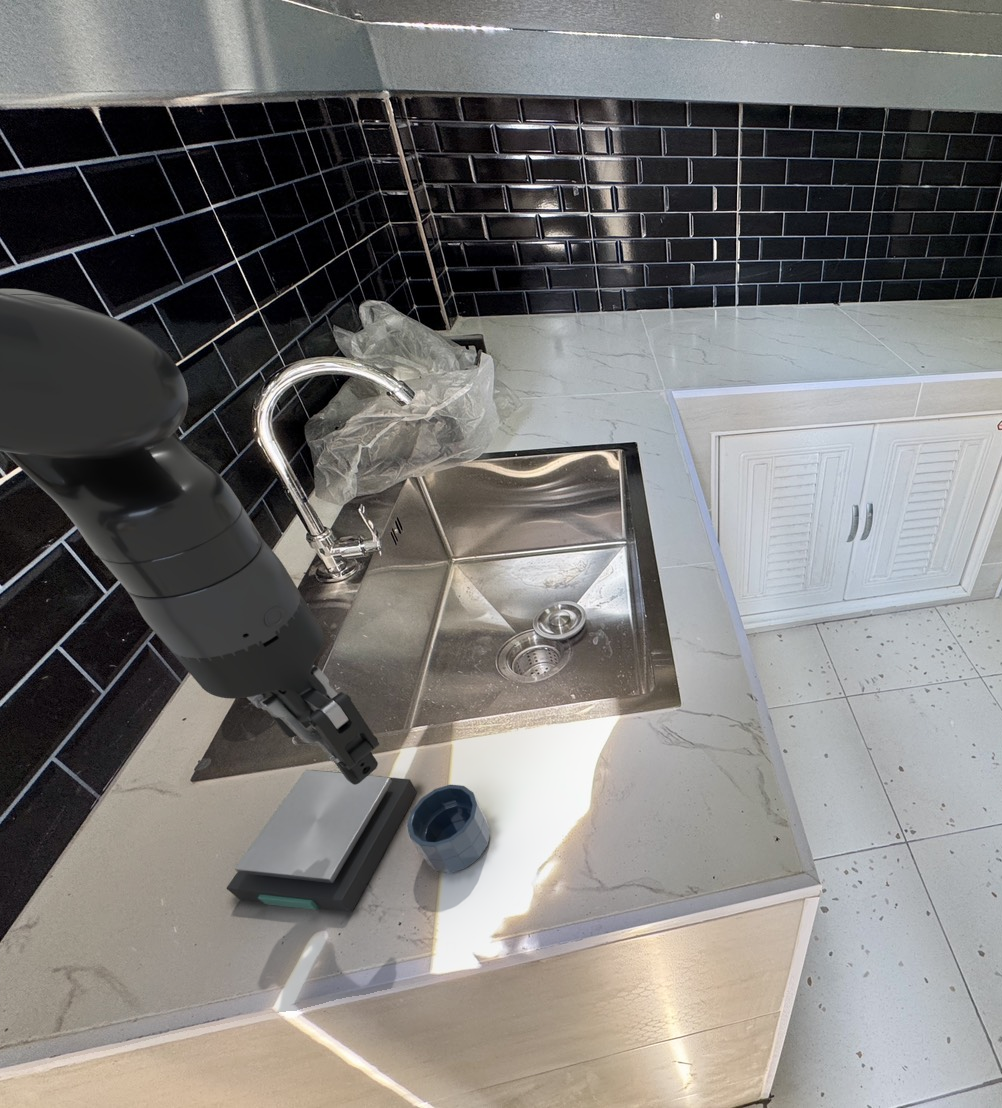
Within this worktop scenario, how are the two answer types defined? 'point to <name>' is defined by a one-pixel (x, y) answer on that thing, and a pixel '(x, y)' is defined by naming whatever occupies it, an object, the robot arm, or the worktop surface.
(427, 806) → the bowl
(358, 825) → the scale pan
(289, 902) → the scale
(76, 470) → the robot arm
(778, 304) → the worktop surface
